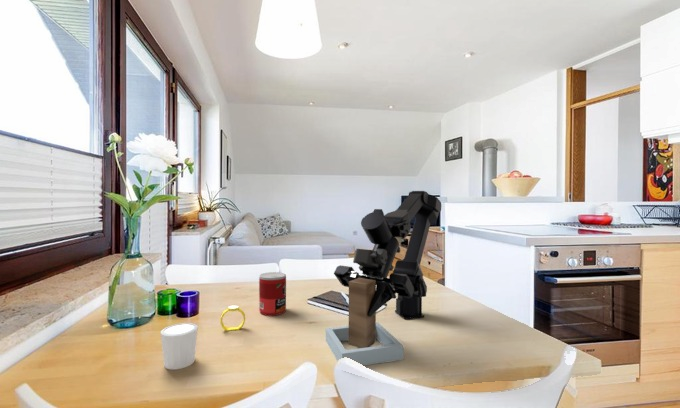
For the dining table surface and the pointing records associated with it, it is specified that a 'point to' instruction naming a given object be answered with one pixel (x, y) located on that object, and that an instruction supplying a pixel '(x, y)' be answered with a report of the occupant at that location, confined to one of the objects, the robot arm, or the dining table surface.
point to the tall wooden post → (361, 313)
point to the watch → (232, 308)
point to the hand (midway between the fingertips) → (359, 313)
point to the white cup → (179, 345)
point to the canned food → (272, 293)
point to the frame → (365, 356)
